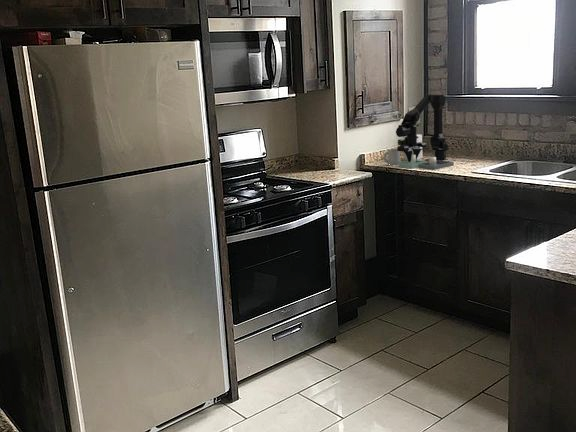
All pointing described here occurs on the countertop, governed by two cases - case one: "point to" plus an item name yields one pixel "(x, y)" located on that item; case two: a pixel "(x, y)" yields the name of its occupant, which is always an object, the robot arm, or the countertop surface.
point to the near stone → (413, 159)
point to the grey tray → (438, 165)
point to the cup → (392, 157)
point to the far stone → (432, 161)
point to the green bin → (407, 165)
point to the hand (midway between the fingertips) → (412, 161)
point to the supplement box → (412, 148)
